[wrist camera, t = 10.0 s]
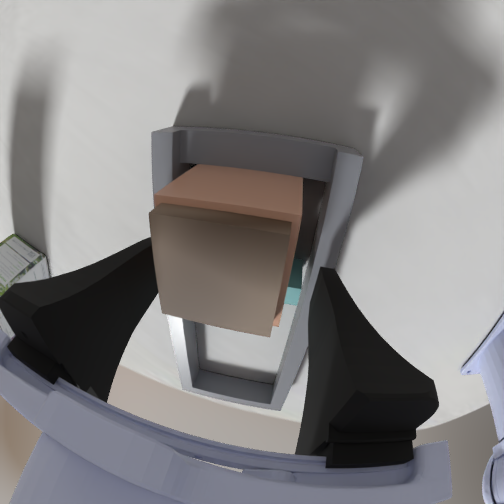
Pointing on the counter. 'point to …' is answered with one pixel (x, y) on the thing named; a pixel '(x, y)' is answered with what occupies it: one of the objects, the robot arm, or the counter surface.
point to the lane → (322, 253)
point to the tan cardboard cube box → (226, 246)
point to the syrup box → (19, 269)
